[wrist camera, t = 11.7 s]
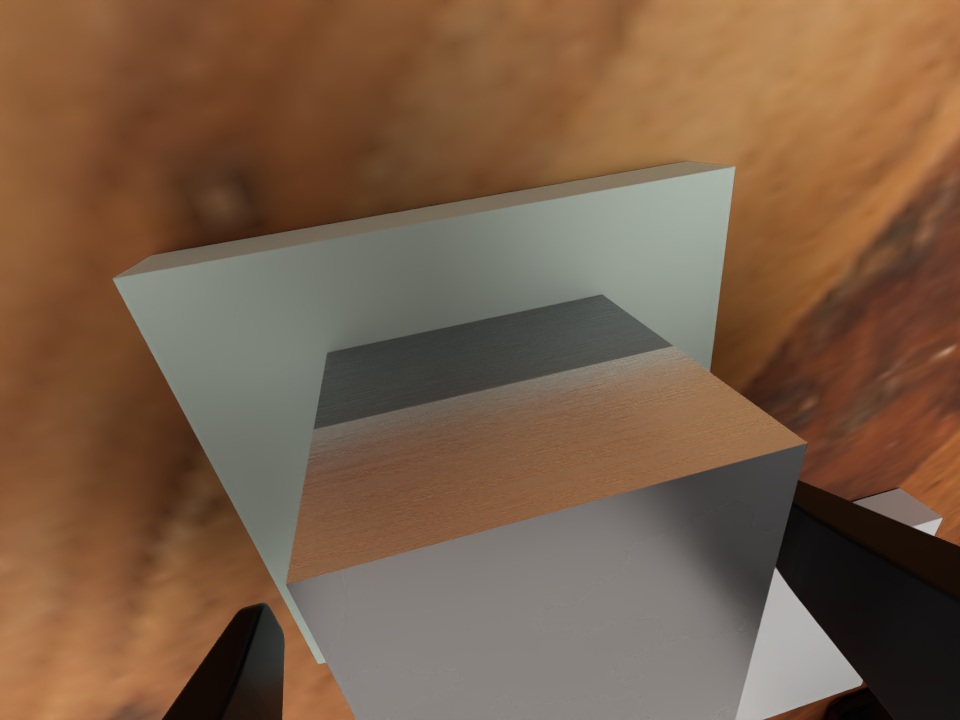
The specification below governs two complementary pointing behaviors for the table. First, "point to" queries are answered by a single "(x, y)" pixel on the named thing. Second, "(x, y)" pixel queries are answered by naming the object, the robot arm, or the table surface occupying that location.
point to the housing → (538, 523)
